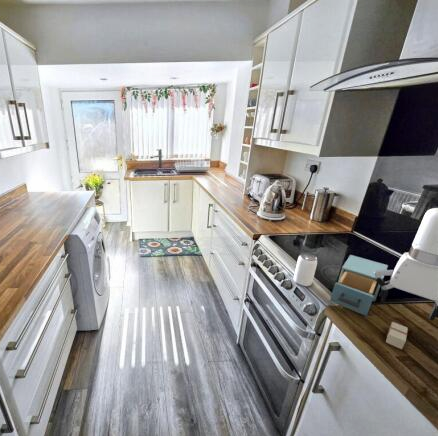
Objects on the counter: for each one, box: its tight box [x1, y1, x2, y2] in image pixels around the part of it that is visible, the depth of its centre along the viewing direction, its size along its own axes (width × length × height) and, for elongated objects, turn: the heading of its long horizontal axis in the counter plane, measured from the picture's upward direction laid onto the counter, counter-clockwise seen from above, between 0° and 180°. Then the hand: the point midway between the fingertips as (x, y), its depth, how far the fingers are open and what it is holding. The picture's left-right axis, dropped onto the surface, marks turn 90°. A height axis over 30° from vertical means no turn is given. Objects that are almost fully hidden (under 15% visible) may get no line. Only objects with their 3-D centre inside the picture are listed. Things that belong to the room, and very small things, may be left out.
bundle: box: [385, 321, 409, 350], centre depth 71 cm, size 7×4×3 cm, turn 131°
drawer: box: [329, 271, 377, 317], centre depth 84 cm, size 17×10×8 cm, turn 131°
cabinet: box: [337, 254, 389, 303], centre depth 93 cm, size 13×11×9 cm
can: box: [293, 252, 318, 287], centre depth 96 cm, size 6×6×12 cm
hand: (405, 308), depth 68 cm, fingers open, 9 cm apart
